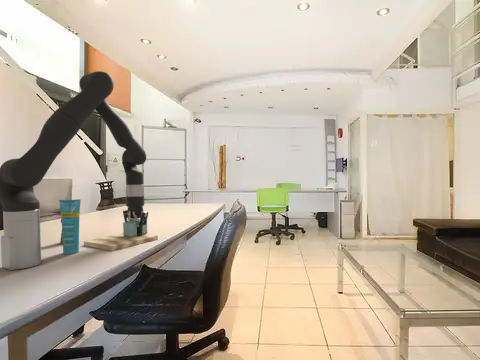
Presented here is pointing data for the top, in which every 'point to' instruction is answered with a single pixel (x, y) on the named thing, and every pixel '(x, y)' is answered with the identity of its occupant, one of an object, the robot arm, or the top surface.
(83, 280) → the top surface
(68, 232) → the tube
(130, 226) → the block
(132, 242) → the board
